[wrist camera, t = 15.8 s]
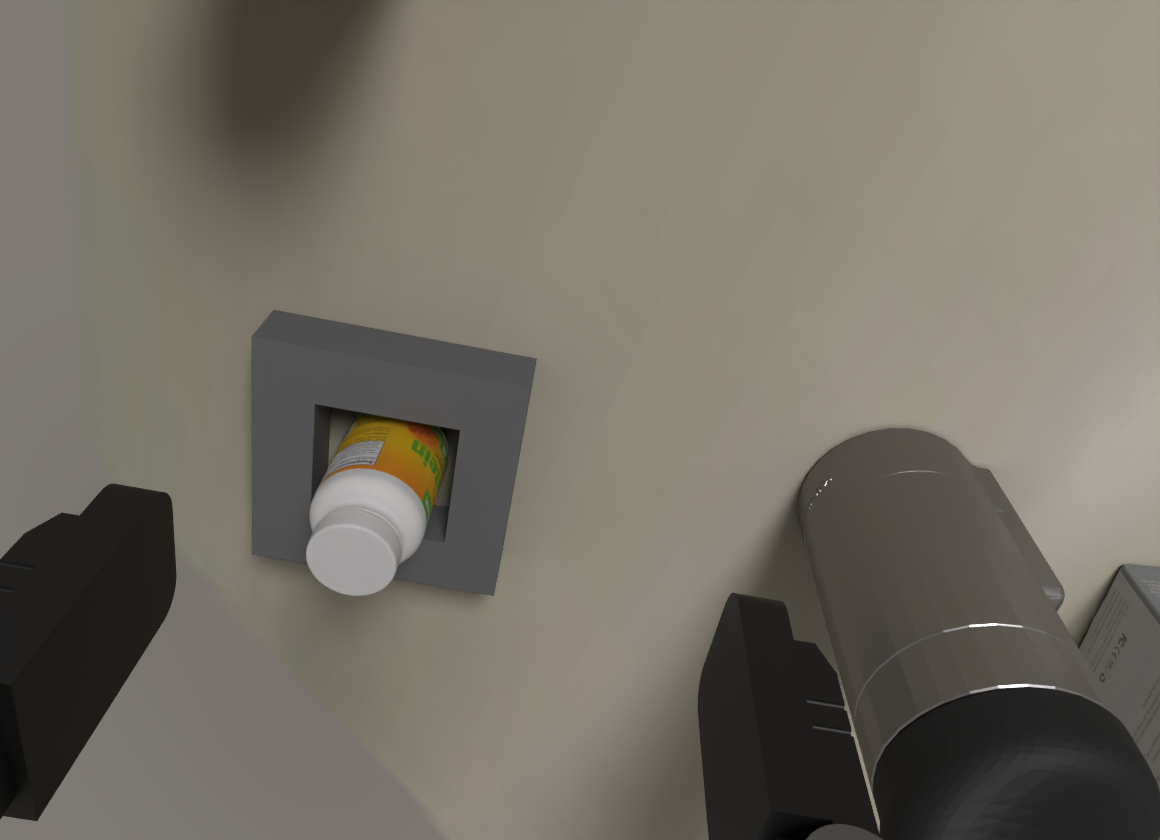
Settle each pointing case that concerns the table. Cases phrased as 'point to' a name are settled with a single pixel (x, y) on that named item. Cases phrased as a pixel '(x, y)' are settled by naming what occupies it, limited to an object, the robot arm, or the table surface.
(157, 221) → the table surface
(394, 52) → the table surface
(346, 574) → the supplement bottle
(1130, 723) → the hard drive box
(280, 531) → the socket holder
